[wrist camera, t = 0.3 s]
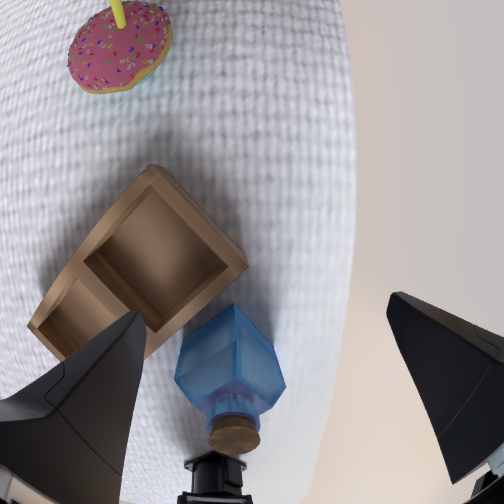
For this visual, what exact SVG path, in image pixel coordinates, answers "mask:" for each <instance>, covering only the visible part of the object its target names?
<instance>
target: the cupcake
mask: <svg viewBox="0 0 504 504" xmlns="http://www.w3.org/2000/svg"><path fill="white" fill-rule="evenodd" d="M136 1H137V0H136ZM136 1H135V2H133V1H132V2H130V1H127V2H122V3H121V0H110V4H111V7H109V8H106V9H104V10H103V11H101V12H100V13H98V14H95V16H94V17H93V18H92V17H91V18H90V19H89V21H88V22H86V23H85V24H84V25H83V26H82V27H81V28H80V29H79V30H78V33H76V34H75V35H76V36H75V38H74V40H73V43H72V45H70V48H69V53H68V57H69V58H68V65H67V67H68V66H69V70H70V73H71V76H72V77H73V79H74V80H75V81H76V82H77V84H78V85H79V86H80V87H81V88H82V89H83V90H84V91H86V92H88V93H92V94H106V93H114V92H121V91H127V90H130V89H132V88H133V87H134V86H135V85H137V84H139V83H141V82H143V81H144V80H146V79H147V78H148V77H150V76H151V74H152V73H153V72H154V71H155V69H156V68H157V67H158V66H159V65H160V63H161V62H162V61H163V60H164V59H165V57H166V56H167V54H168V52H169V49H170V45H171V41H172V36H173V34H172V28H171V24H170V21H169V18H168V14H167V13H166V9H164V10H163V8H162V7H158V6H157V5H156V4H154V5H153V4H149V3H147V2H145V3H144V2H139V1H138V2H136ZM161 8H162V9H161Z"/></svg>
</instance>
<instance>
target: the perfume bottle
mask: <svg viewBox="0 0 504 504" xmlns="http://www.w3.org/2000/svg"><path fill="white" fill-rule="evenodd" d="M174 381H175V382H176V383H177V385H178V386H179V387H180V389H181V390H182V392H183V393H184V394H185V396H186V397H187V398H188V400H189V401H190V402H191V403H192V404H193V405H194V406H195V407H197V408H198V409H199V410H200V411H202V412H203V413H204V414H206V415H207V431H208V433H209V434H210V436H209V444H210V446H211V447H212V448H213V449H214V450H215V451H218V452H220V453H223V454H228V455H239V454H245V453H248V452H251V451H252V450H254V449H255V448H256V447H257V446H258V445H259V443H260V436H259V434H258V432H259V430H260V421H259V415H260V414H262V413H264V412H266V411H268V410H269V409H271V408H272V407H273V406H274V404H275V403H276V401H277V400H278V399H279V397H280V396H281V394H282V393H283V391H284V390H285V388H286V385H285V382H284V378H283V375H282V372H281V369H280V366H279V363H278V359H277V356H276V353H275V350H274V347H273V346H272V345H271V344H270V343H269V342H268V341H267V340H266V338H265V337H264V336H263V335H262V334H261V333H260V332H259V331H258V330H257V329H256V327H255V326H254V325H253V324H252V323H251V322H250V321H249V320H248V319H247V317H246V316H245V315H244V314H243V313H242V312H241V311H240V310H239V308H238V307H237V306H236V305H235V304H234V303H233V304H232V305H231V306H229V307H228V308H227V309H225V310H224V311H222V312H221V313H220V314H218V315H217V316H216V317H214V318H213V319H211V320H210V321H209V322H207V323H206V324H204V325H203V326H202V327H200V328H199V329H197V330H196V331H195V332H193V333H192V334H190V335H189V336H188V337H186V338H185V339H183V341H182V346H181V350H180V354H179V359H178V363H177V368H176V372H175V377H174Z"/></svg>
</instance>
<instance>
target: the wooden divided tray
mask: <svg viewBox="0 0 504 504" xmlns="http://www.w3.org/2000/svg"><path fill="white" fill-rule="evenodd" d="M248 267H249V266H248V263H247V259H246V256H245V253H244V252H243V251H242V250H241V249H240V248H239V247H238V246H237V245H236V244H235V243H234V242H233V241H232V240H231V239H230V238H229V237H228V236H227V235H226V234H225V232H224V231H223V230H222V229H221V228H220V227H219V226H218V225H217V224H216V223H215V222H214V221H213V220H212V219H211V218H210V217H209V216H208V215H207V213H206V212H205V211H204V210H203V209H202V208H201V207H200V206H199V205H198V204H197V203H196V202H195V201H194V200H193V199H192V198H191V197H190V196H189V194H188V193H187V192H186V191H185V190H184V189H183V188H182V187H181V186H180V185H179V184H178V183H177V182H176V181H175V180H174V179H173V177H172V176H171V175H170V174H169V173H168V172H167V171H166V170H165V169H164V168H163V167H161V166H157V165H154V164H150V165H149V166H148V167H147V168H146V169H145V170H144V171H143V172H142V173H141V174H140V175H139V176H138V177H137V178H136V179H135V180H134V181H133V183H132V184H131V185H130V186H129V187H128V188H127V189H126V190H125V191H124V192H123V194H122V195H121V196H120V197H119V198H118V199H117V200H116V201H115V203H114V204H113V205H112V206H111V207H110V208H109V210H108V211H107V212H106V213H105V214H104V216H103V217H102V218H101V219H100V220H99V222H98V223H97V224H96V225H95V227H94V228H93V229H92V230H91V232H90V233H89V234H88V235H87V237H86V238H85V239H84V241H83V242H82V243H81V245H80V246H79V247H78V249H77V250H76V251H75V253H74V254H73V255H72V257H71V258H70V259H69V261H68V262H67V264H66V265H65V267H64V268H63V269H62V271H61V272H60V274H59V275H58V277H57V278H56V280H55V281H54V283H53V284H52V286H51V287H50V289H49V290H48V292H47V293H46V295H45V297H44V298H43V300H42V301H41V303H40V305H39V306H38V308H37V310H36V311H35V313H34V315H33V317H32V318H31V320H30V322H29V323H28V325H27V327H28V328H29V329H30V330H31V332H32V333H33V334H34V335H35V336H36V337H37V338H38V339H39V340H40V341H41V342H42V344H43V345H44V346H45V347H46V348H47V349H48V350H49V351H50V352H51V353H52V354H53V355H54V356H55V357H56V358H57V359H58V360H59V361H60V362H62V361H64V359H66V358H67V357H68V356H69V355H71V354H72V353H73V352H75V351H76V350H77V349H79V348H80V347H81V346H83V345H84V344H85V343H87V342H88V341H89V340H91V339H92V338H93V337H95V336H96V335H97V334H99V333H100V332H101V331H103V330H104V329H105V328H107V327H108V326H109V325H111V324H112V323H114V322H115V321H116V320H118V319H119V318H120V317H122V316H123V315H124V314H126V313H127V312H129V311H140V312H141V314H142V316H143V320H144V323H145V326H146V330H147V339H146V346H145V354H144V360H145V359H146V358H147V357H148V356H149V355H150V354H152V353H153V352H154V351H155V350H156V349H157V348H158V347H160V346H161V345H162V344H163V343H164V342H165V341H166V340H168V339H169V338H170V337H171V336H172V335H173V334H174V333H175V332H177V331H178V330H179V329H180V328H181V327H182V326H183V325H185V324H186V323H187V322H188V321H189V320H190V319H191V318H192V317H194V316H195V315H196V314H197V313H198V312H199V311H200V310H201V309H203V308H204V307H205V306H206V305H207V304H208V303H209V302H210V301H212V300H213V299H214V298H215V297H216V296H217V295H218V294H219V293H220V292H222V291H223V290H224V289H225V288H226V287H227V286H228V285H229V284H231V283H232V282H233V281H234V280H235V279H236V278H237V277H238V276H239V275H241V274H242V273H243V272H244V271H245V270H246V269H247V268H248Z"/></svg>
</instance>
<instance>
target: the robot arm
mask: <svg viewBox="0 0 504 504" xmlns="http://www.w3.org/2000/svg"><path fill="white" fill-rule="evenodd" d="M386 315H387V318H388V321H389V324H390V326H391V329H392V332H393V334H394V337H395V340H396V343H397V345H398V348H399V350H400V353H401V355H402V357H403V359H404V361H405V363H406V365H407V367H408V370H409V372H410V374H411V376H412V378H413V381H414V383H415V385H416V388H417V390H418V392H419V395H420V397H421V399H422V402H423V404H424V406H425V409H426V411H427V414H428V416H429V419H430V422H431V424H432V427H433V429H434V432H435V435H436V437H437V440H438V443H439V446H440V449H441V452H442V455H443V457H444V461H445V463H446V466H447V470H448V473H449V476H450V479H451V482H452V484H455V483H457V482H459V481H460V480H462V479H463V478H465V477H467V476H468V475H470V474H471V473H473V472H474V471H476V470H477V469H479V468H480V467H482V466H483V465H485V463H488V465H489V467H490V469H491V470H490V471H489V472H487V473H486V474H485V475H483V476H482V477H480V478H479V479H478V480H477V481H476V484H475V487H474V490H473V492H472V495H471V498H470V499H469V500H467V501H466V502H464V503H463V504H504V337H502V336H499V335H497V334H494V333H492V332H490V331H488V330H485V329H483V328H481V327H479V326H476V325H473V324H472V323H470V322H468V321H466V320H464V319H461V318H459V317H457V316H455V315H453V314H451V313H448V312H446V311H444V310H442V309H439V308H437V307H435V306H433V305H431V304H428V303H426V302H424V301H422V300H420V299H417V298H415V297H413V296H411V295H408V294H406V293H404V292H401V291H400V292H394V293H392V294H391V295H390V299H389V303H388V307H387V311H386ZM146 339H147V330H146V326H145V323H144V320H143V316H142V314H141V312H140V311H129V312H127V313H126V314H124V315H123V316H122V317H120V318H119V319H118V320H116V321H115V322H114V323H112V324H111V325H109V326H108V327H107V328H105V329H104V330H103V331H101V332H100V333H99V334H97V335H96V336H95V337H93V338H92V339H91V340H89V341H88V342H87V343H85V344H84V345H83V346H81V347H80V348H79V349H77V350H76V351H75V352H73V353H72V354H71V355H69V356H68V357H67V358H66V359H64V361H62V362H60V363H59V364H58V365H56V366H55V367H54V368H52V369H51V370H50V371H48V372H47V373H46V374H44V375H43V376H41V377H40V378H38V379H37V380H35V381H34V382H32V383H31V384H29V385H27V386H26V387H24V388H23V389H21V390H20V391H18V392H17V393H15V394H14V395H12V396H10V397H9V398H6V399H3V400H0V504H119V496H120V488H121V481H122V477H121V476H122V473H123V466H124V460H125V454H126V448H127V442H128V437H129V431H130V426H131V421H132V416H133V411H134V406H135V402H136V397H137V392H138V388H139V384H140V379H141V375H142V370H143V362H144V354H145V346H146ZM184 468H185V469H187V470H189V471H191V472H192V489H191V493H189V492H185V491H183V493H182V495H180V496H178V499H177V504H253V501H252V497H251V495H242V491H241V487H243V481H242V471H245V470H246V469H247V466H246V465H243V464H241V463H239V462H237V461H235V460H233V459H231V458H229V457H227V456H224V455H222V454H221V453H219V452H217V451H211V452H209V453H207V454H205V455H203V456H201V457H199V458H197V459H195V460H193V461H191V462H189V463H187V464H185V465H184Z"/></svg>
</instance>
